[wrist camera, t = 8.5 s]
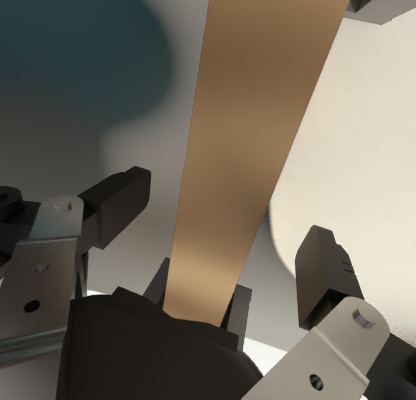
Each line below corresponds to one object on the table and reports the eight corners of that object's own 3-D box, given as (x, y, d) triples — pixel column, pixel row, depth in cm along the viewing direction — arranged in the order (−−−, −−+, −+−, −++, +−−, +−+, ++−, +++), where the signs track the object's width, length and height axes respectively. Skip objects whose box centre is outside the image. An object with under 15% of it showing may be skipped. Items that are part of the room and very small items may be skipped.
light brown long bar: (260, -99, 8) (242, -225, 5) (366, -85, 7) (435, -216, 4) (179, 295, 19) (157, 342, 16) (218, 311, 19) (205, 362, 16)
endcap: (235, 324, 21) (223, 388, 17) (160, 293, 22) (131, 347, 18) (252, 289, 18) (242, 355, 14) (165, 257, 19) (133, 309, 15)
